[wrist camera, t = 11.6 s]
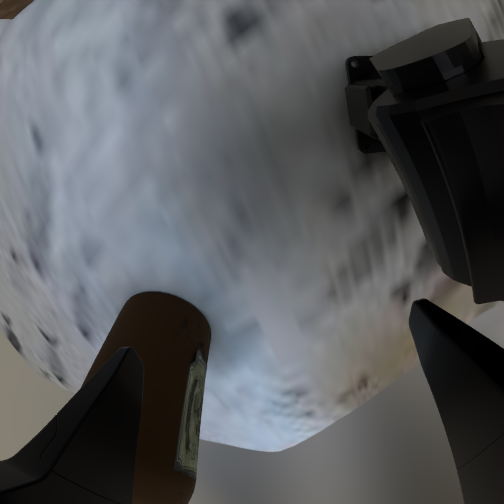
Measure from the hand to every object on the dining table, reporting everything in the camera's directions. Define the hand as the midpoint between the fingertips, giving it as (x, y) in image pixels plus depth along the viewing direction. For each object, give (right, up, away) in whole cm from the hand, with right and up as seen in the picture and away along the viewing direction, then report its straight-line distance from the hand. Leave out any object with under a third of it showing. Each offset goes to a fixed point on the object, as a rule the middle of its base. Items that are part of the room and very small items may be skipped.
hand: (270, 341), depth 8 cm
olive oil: (-9, -5, +19) cm, 22 cm away
